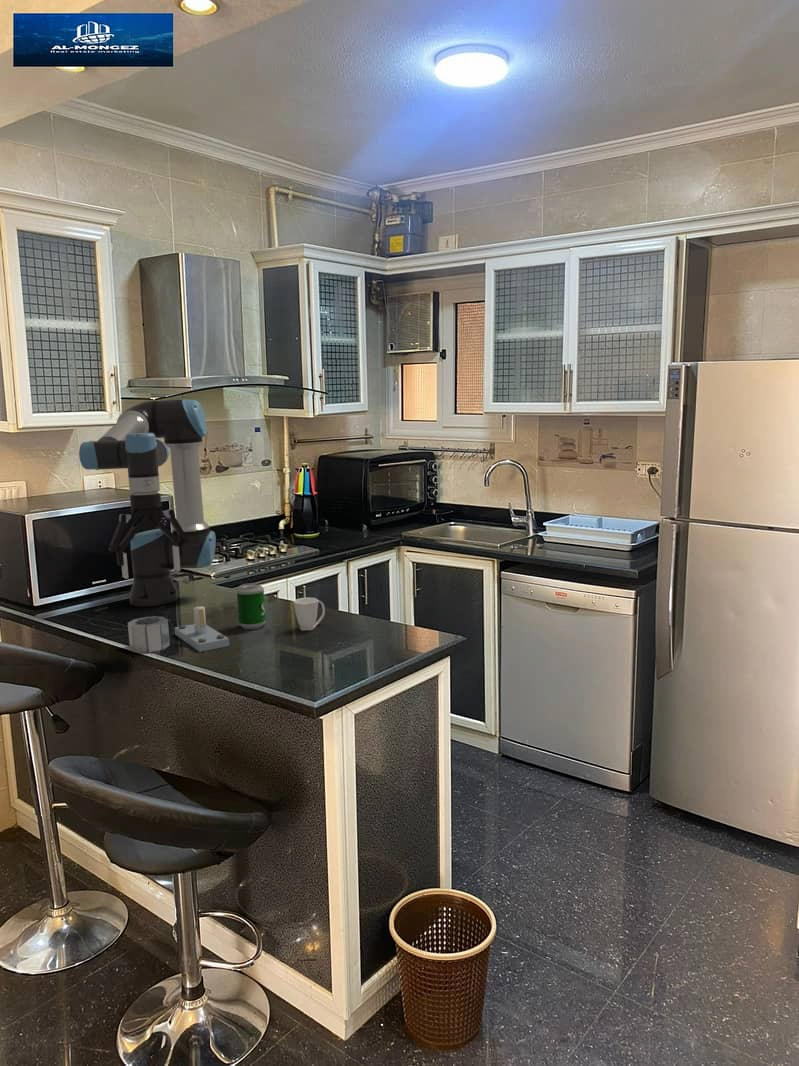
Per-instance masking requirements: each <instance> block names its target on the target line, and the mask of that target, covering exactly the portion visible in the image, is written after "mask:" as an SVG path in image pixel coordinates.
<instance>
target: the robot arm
mask: <svg viewBox="0 0 799 1066" xmlns="http://www.w3.org/2000/svg"><path fill="white" fill-rule="evenodd" d="M207 426H208V425H207V420H206V416H205V411H204V409H203V407H202V404H201V403H200V402H199V401H198V400H195V399H184V398H183V399H170V400H169V399H168V400H167V399H165V400H148V401H147V400H146V401H144V402H140V403H137V404H136V405H133V406H132V407H129V408H127V409H126V410H124V411H123V412H122V413H121V414H120V415H119V416H118V417H117V420H116V423H115V424H114V425H112V427H110V429H109V430H107V431H106V432H105V433H104V434H103V435H102V436H101V437H99V439H98V440H97V441H96V440H90V441H83V442H81V444H80V445H79V448H78V450H79V451H78V456H79V461H80V465H81V466H82V468H83V469H85V470H95V471H98V470H99V471H101V470H118V469H127V475H128V476H127V477H128V488H129V493H131V495H129V498H130V501H129V502H130V511H131V512H130V514H123V513H120V514H119V513H118V514H119V515H118V523H117V526H116V529H115V531H114V534H113V536H112V538H111V541H110V542H109V545H108V551H110V552H111V553H115V554H116V561H117V566H119V567H121V573H122V578H124V579H129V567H128V566H129V565H128V558H127V552H125V550H126V549H127V547H128V546H129V544H130V548H129V550H130V556H131V566H132V576H133V577H132V578H133V581H132V585H131V589H130V593H129V604H130V605H132V606H135V607H156V606H163V605H166V604H167V605H168V604H171V603H173V602H176V601H177V600H178V599H179V595H178V590H177V587H176V585H175V583H174V580H173V579H172V576H171V570H175V571H177V572H180V571H181V569H199V568H208V567H210V566H211V565H212V564H213V562H214V559H215V553H216V543H217V542H216V541H217V539H216V538H217V537H216V533H215V531H213V530H210V525H209V524H208V523H207V522H206V521H205V515H204V505H203V495H202V494H203V493H202V480H201V469H200V468H201V467H200V457H199V447H200V446H201V445H202V443H203V438H204V437H206V436H207V433H208V429H207ZM161 439H163V441H162V440H161ZM169 457H170V463H171V473H172V474H171V475H172V486H173V496H174V505H175V506H174V507H175V509H171V508H169V509H168V508H167V510H163V509H162V497H161V493H159V492H160V491H161V485H160V474H159V468H160V467H161V466H162V465H164V464H166V462H167V461H168V459H169ZM164 516H165V518H167V519H168V521H169V522H170V524H171V526H172V531H171V530H170V528H168V526H166V525H165V523H163V522H162V520H163V518H164ZM129 521H131V522H133V523H132V525H131V526H130V529H129V530H128V532H127V533H126V534H125V536H124V537H123V538H122V536H123V533H124V530H125V528H126V525H127V524H128V523H129ZM149 529H151V530H149ZM140 530H144V531H142V532H139V531H140ZM121 538H122V540H121ZM120 540H121V541H120Z"/></svg>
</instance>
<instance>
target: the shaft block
mask: <svg viewBox="0 0 799 1066" xmlns="http://www.w3.org/2000/svg"><path fill="white" fill-rule="evenodd" d="M205 608H206V607H205V606H195V607H193V608H192V610H193V622H194V623H192V624H187V625H186V624H182V625H178V626H177V627H174V635H175V636H177V637H178V638H179V639H181V640H182V641H184V642H185V643H187V644H188V645H189V646H191V647H192V648H193V649H195V650H196V651H197V652H199V653H202V651H203V652H207V651H212V650H217V649H221V648H226V647H230V639H229V638H228V636H226V635H224V634H222V633H221V632H219V631H217V630H215V629H214V628H213V627H210V626H209V625H208V624H207V619H206V609H205Z"/></svg>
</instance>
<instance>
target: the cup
mask: <svg viewBox="0 0 799 1066" xmlns="http://www.w3.org/2000/svg"><path fill="white" fill-rule="evenodd" d="M292 602H293V606H294V607H293V608H294V611H295V616H296V619H297V623H298V625H299V628H300V629H301V631H305V630H306V631H307V630H308V631H312V630H315V629H316V627H317V626H318V625H319V624H320V623H321V621H322V620H323V619H324V617H325V614H326V608H325V603H324V602H323V601H321V600H319V599H317V598H316V597H301V598H297V599H295V600H292ZM319 604H320V605H321V608H322V609H321V610H322V614H321V616H320V617H319V618H318V609H319ZM317 618H318V620H317ZM314 628H315V629H314ZM300 629H299V630H300Z"/></svg>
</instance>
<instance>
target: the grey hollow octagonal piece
mask: <svg viewBox="0 0 799 1066" xmlns="http://www.w3.org/2000/svg"><path fill="white" fill-rule="evenodd" d="M168 621H169V620H168V618H166V617H164V616H155V615H153V616H145V617H139V618H136V619H135V618H134V619H132V620H130V621H129V622H127V629H128V641H129V650H130V651H132V652H133V653H143V654H146V653H154V652H159V651H162V650H165V649H166V648H168V647H170V634H169V633H170V632H169V622H168Z"/></svg>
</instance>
